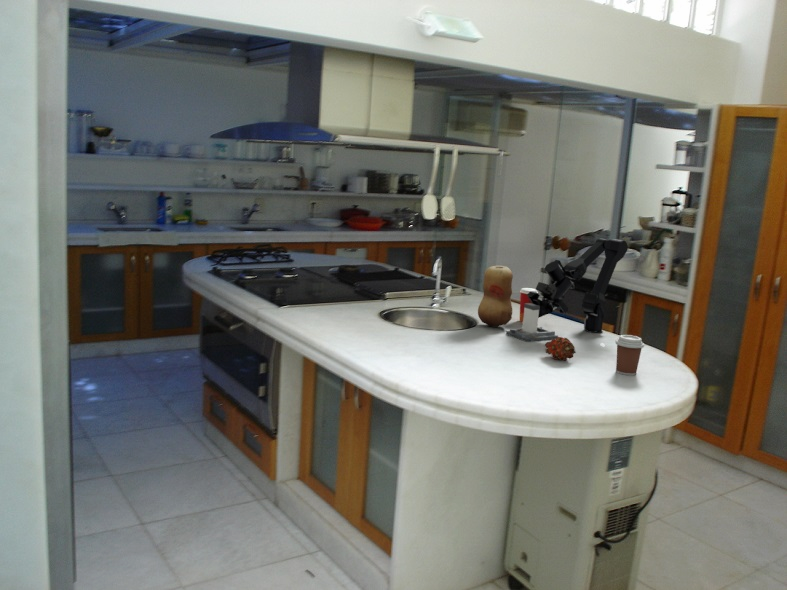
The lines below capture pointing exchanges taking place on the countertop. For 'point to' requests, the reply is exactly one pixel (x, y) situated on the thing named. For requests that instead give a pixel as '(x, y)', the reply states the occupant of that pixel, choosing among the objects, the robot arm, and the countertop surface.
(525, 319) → the plate
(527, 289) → the paper cup
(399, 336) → the countertop surface
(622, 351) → the coffee cup
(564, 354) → the dragon fruit
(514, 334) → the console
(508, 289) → the butternut squash
